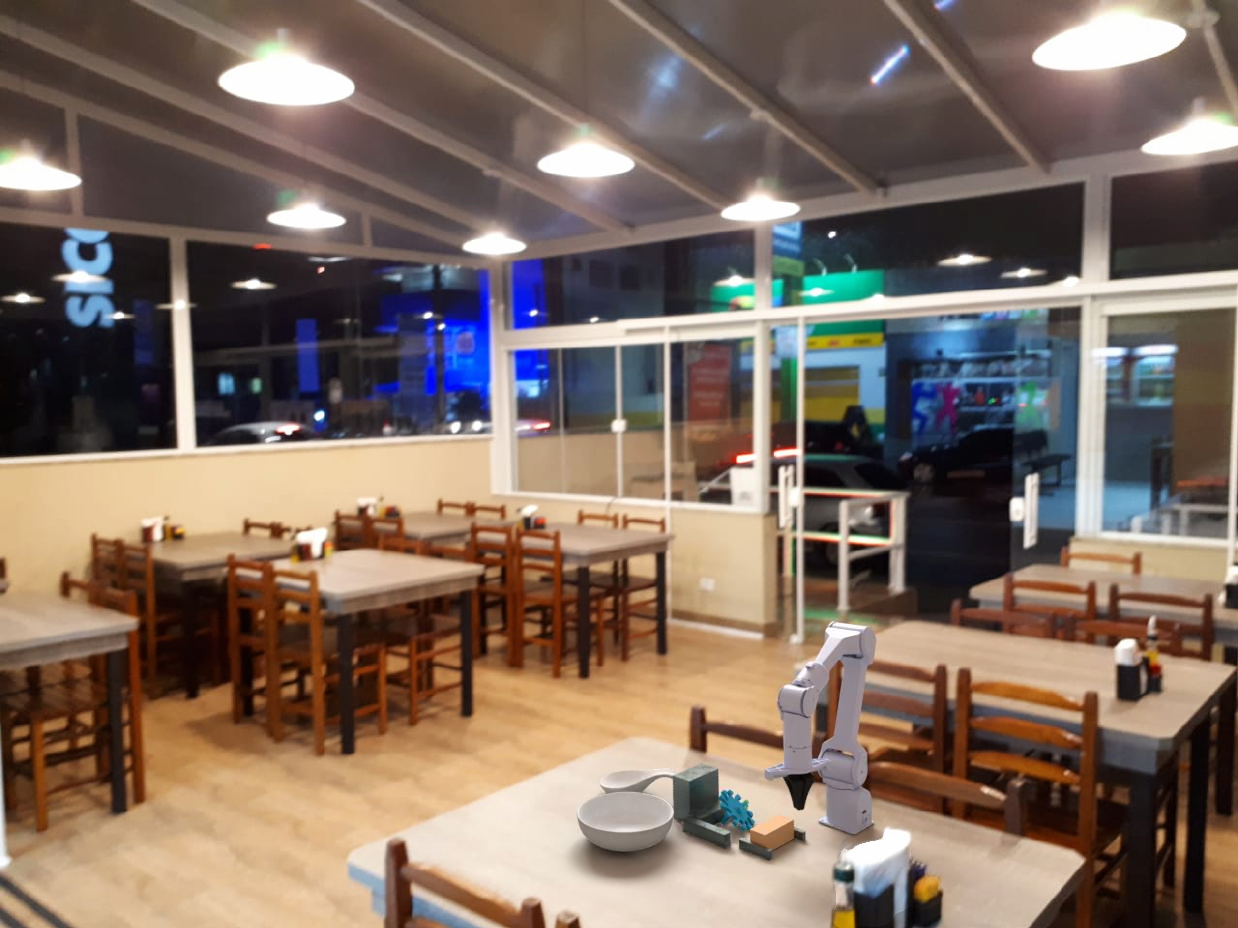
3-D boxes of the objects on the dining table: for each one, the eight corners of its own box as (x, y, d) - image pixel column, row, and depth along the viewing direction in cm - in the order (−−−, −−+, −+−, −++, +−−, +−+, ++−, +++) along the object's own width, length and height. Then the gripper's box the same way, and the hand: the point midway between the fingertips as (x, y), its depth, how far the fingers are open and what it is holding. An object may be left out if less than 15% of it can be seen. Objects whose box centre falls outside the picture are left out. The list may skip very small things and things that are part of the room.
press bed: (805, 839, 204) (804, 794, 203) (762, 864, 194) (761, 816, 193) (706, 803, 224) (705, 761, 223) (663, 823, 214) (661, 779, 213)
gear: (743, 832, 204) (715, 792, 209) (725, 848, 206) (697, 808, 211) (765, 820, 214) (737, 782, 218) (747, 835, 216) (720, 797, 220)
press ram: (794, 837, 204) (793, 819, 204) (765, 853, 197) (765, 835, 197) (779, 832, 207) (778, 814, 207) (750, 847, 200) (749, 829, 200)
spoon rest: (592, 800, 228) (591, 771, 227) (611, 782, 239) (610, 754, 238) (687, 813, 219) (686, 783, 219) (701, 793, 230) (701, 764, 230)
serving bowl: (667, 867, 194) (666, 834, 193) (567, 860, 198) (566, 828, 197) (680, 823, 214) (680, 793, 214) (590, 817, 218) (589, 788, 218)
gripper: (818, 732, 202) (819, 795, 203) (756, 742, 197) (758, 806, 198) (836, 743, 195) (837, 807, 196) (773, 753, 190) (774, 820, 191)
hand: (798, 808), depth 197 cm, fingers closed
